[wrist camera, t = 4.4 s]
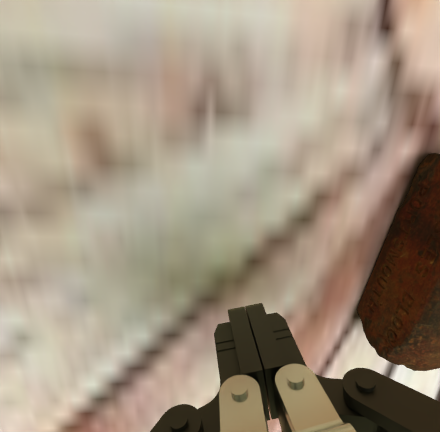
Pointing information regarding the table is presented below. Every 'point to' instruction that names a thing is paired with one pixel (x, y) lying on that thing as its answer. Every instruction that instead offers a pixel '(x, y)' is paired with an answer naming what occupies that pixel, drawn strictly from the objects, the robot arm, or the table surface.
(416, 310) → the brick
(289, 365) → the robot arm
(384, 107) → the table surface
